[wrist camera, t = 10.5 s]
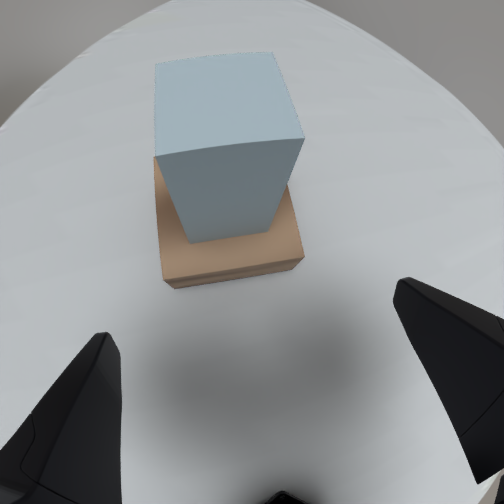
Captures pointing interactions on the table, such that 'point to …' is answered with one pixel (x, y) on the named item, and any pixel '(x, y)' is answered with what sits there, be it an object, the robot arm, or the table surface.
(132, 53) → the table surface
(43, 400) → the robot arm
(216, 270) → the tan flat square block
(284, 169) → the slate block
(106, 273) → the table surface
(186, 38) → the table surface
